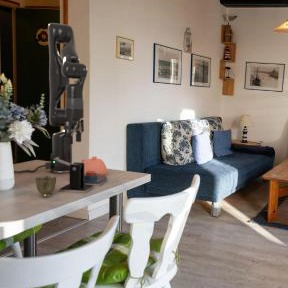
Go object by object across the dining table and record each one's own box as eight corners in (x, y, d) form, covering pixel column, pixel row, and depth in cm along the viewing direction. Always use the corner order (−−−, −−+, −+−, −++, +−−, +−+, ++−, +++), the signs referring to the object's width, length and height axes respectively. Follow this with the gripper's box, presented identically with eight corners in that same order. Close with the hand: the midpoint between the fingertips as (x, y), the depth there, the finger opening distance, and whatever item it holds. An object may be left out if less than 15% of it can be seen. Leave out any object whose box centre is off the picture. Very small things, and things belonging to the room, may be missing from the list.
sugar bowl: (97, 180, 185) (97, 159, 184) (72, 177, 188) (72, 157, 186) (111, 175, 197) (111, 156, 196) (87, 172, 200) (87, 153, 198)
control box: (73, 184, 174) (73, 176, 174) (82, 179, 184) (82, 171, 184) (99, 185, 175) (99, 177, 174) (106, 180, 185) (106, 173, 184)
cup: (60, 195, 156) (60, 176, 155) (47, 200, 149) (47, 180, 148) (45, 193, 158) (45, 174, 157) (31, 197, 151) (31, 178, 150)
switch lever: (50, 162, 162) (51, 157, 162) (55, 160, 167) (57, 155, 167) (76, 172, 163) (78, 167, 163) (81, 170, 168) (83, 165, 168)
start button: (84, 175, 177) (84, 172, 177) (88, 174, 181) (88, 170, 181) (93, 176, 177) (93, 172, 177) (96, 174, 181) (96, 171, 181)
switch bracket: (59, 191, 162) (59, 164, 160) (68, 186, 171) (69, 161, 169) (85, 192, 162) (85, 166, 161) (93, 187, 171) (93, 162, 170)
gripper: (73, 106, 175) (73, 140, 177) (58, 107, 161) (58, 144, 163) (89, 107, 175) (89, 141, 178) (75, 109, 161) (75, 146, 164)
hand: (74, 143), depth 171 cm, fingers open, 8 cm apart
